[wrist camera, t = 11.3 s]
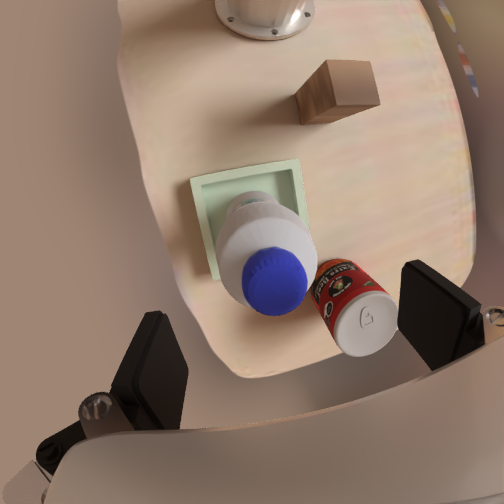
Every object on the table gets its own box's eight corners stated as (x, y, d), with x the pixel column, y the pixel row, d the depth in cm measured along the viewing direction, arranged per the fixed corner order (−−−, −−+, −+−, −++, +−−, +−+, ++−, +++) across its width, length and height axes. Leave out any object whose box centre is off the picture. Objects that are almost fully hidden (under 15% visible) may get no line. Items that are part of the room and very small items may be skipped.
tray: (193, 177, 31) (189, 178, 28) (294, 158, 31) (299, 158, 28) (214, 272, 34) (212, 280, 32) (308, 254, 34) (313, 261, 32)
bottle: (292, 225, 32) (362, 308, 13) (243, 254, 33) (252, 367, 14) (263, 176, 31) (306, 193, 12) (213, 206, 31) (177, 271, 12)
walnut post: (294, 93, 28) (326, 59, 17) (326, 91, 28) (370, 61, 17) (301, 124, 29) (336, 105, 18) (332, 122, 29) (380, 104, 18)
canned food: (344, 245, 34) (384, 278, 24) (370, 287, 37) (409, 327, 26) (297, 280, 35) (321, 326, 25) (327, 319, 38) (354, 368, 27)
